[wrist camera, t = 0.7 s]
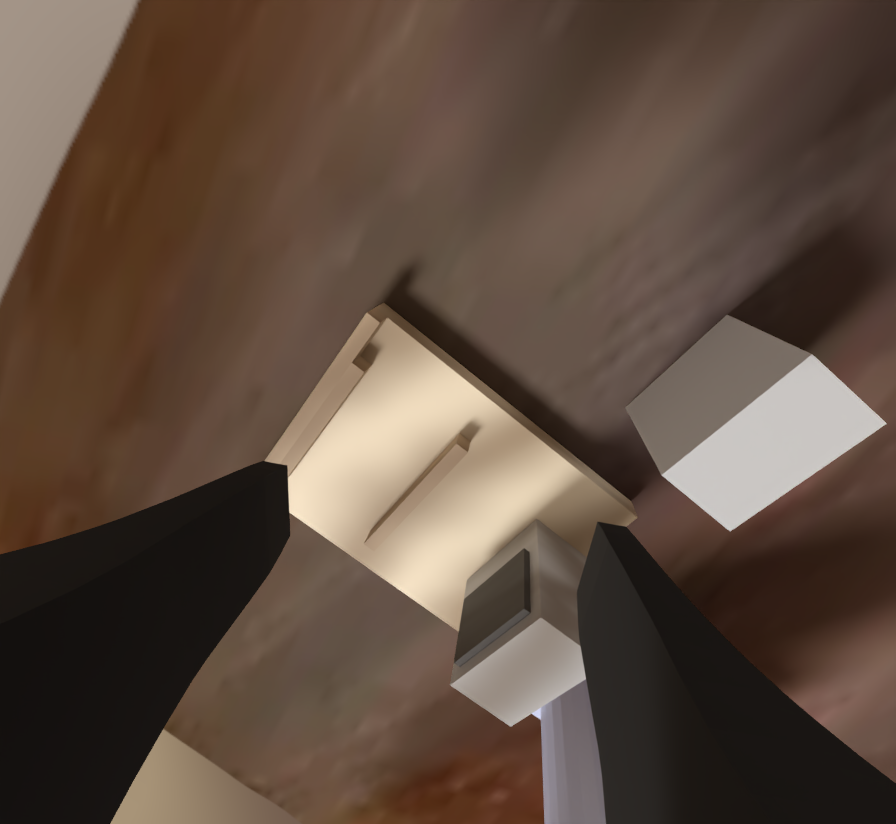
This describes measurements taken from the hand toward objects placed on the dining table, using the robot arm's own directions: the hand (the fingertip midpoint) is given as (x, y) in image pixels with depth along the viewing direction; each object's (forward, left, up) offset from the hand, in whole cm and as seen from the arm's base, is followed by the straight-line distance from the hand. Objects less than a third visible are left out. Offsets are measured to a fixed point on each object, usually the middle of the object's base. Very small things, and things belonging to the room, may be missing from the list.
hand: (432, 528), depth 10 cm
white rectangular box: (-7, -6, -10) cm, 13 cm away
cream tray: (-2, +5, -10) cm, 11 cm away
